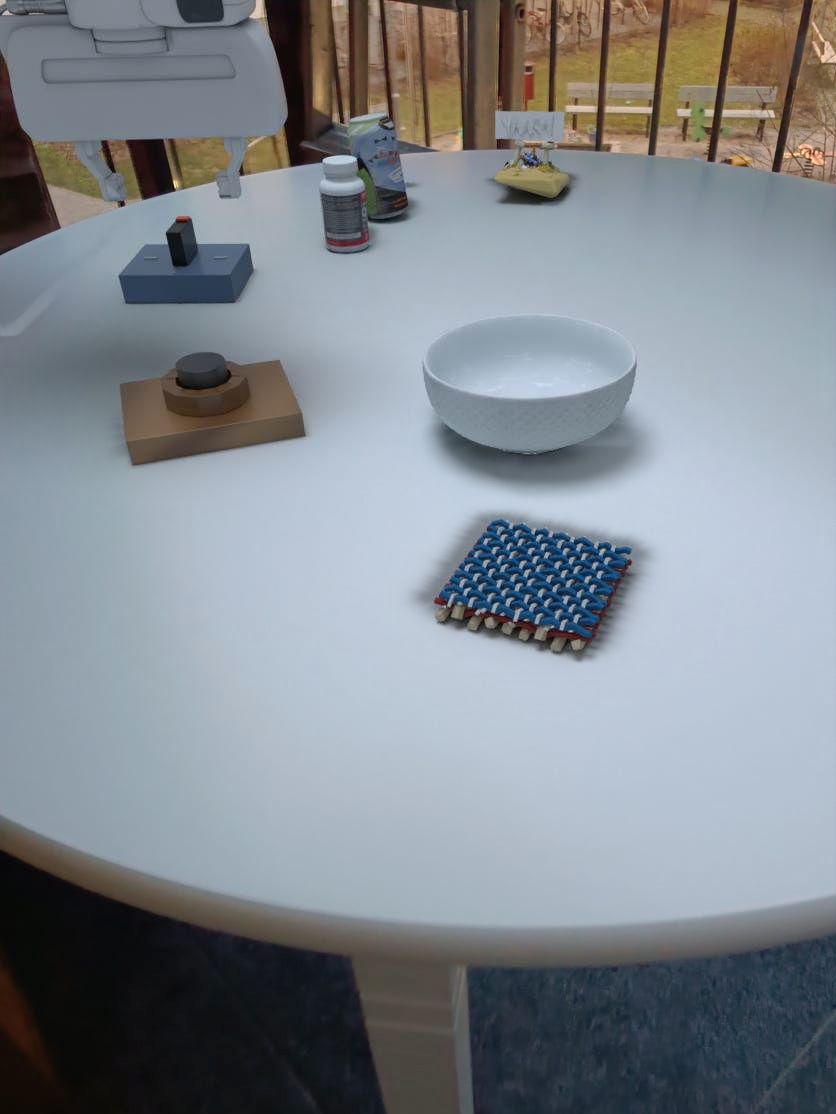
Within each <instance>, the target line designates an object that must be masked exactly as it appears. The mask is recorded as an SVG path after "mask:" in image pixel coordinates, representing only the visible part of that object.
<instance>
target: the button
mask: <svg viewBox="0 0 836 1114" xmlns="http://www.w3.org/2000/svg"><path fill="white" fill-rule="evenodd" d="M225 361H226V358H225V357H224V356H223V355H222V354H220V353H217V352H212V351H202V352H201V351H200V352H193V353H189V354H187V355H185V356H182V357H180V358H179V359H177V360H176V362H175V368H176V370H177V375H178V379H179V383H180V386H181V387H182V388H184V389H189V390H204V389H211V388H216V387H218V386H220V385H223V384H225V383H227V382H228V380H229V377H228V372H227V367H226V362H225Z"/></svg>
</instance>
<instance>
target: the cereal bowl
mask: <svg viewBox="0 0 836 1114" xmlns="http://www.w3.org/2000/svg"><path fill="white" fill-rule="evenodd" d="M637 362H638V357H637V351H636V349H635V347H634V346H633V344H632V343H631V341H629V339H627V337H625V336H624V335H623V334H621V333H620V332H618V331H617V330H615V329H613V328H611V327H608V326H606V325H604V324H601V323H597V322H595V321H592V320H588V319H585V318H581V317H580V318H579V317H574V316H568V315H562V314H552V313H511V314H502V315H494V316H488V317H484V318H479V319H475V320H472V321H471V320H470V321H467V322H464V323H461V324H459V325H456V326H453V327H451V328H449V329H447V330H446V331H443V332H442V333H441V334H439V335H437V336H436V337H435V338H433V339H432V340H431V341H430V342H429V343H428V344H427V346H426V348H425V350H424V351H423V355H422V361H421V365H422V373H423V381H424V387H425V391H426V395H427V397H428V400H429V403H430V405H431V407H432V408H433V411H434V412H435V414H436V415H437V416H438V417H439V419H441V420H442V422H443V423H444V424H445V425H447V426H448V427H449V428H450V429H451V430H453V431H454V432H455V433H456V434H458V435H460V436H461V437H462V438H466V439H467V440H469V441H472V442H474V443H477V444H480V445H482V446H487V447H490V448H494V449H497V448H498V449H497V450H499V449H501V450H500V451H502V450H505V451H504V452H506V451H508V452H507V453H510V452H514V453H513V454H516V453H522V454H521V455H525V454H524V453H529V454H528V455H535V454H534V453H542V454H544V453H543V452H547V451H552V452H554V451H553V450H555V451H557V450H556V449H558V450H560V449H559V448H561V447H563V448H565V447H570V446H573V445H576V444H580V443H581V442H585V441H586V440H588V439H590V438H593V437H594V436H596V435H598V434H599V433H601V432H602V431H604V430H607V428H608V427H609V426H610V425H612V424H613V423H614V421H616V420H617V419H618V417H619V416H620V415H621V414H622V413H623V411H624V409H626V407H627V403H628V402H629V401H630V397H631V395H632V393H633V388H634V385H635V379H636V373H637V366H638V363H637ZM561 449H562V448H561Z"/></svg>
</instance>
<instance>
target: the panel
mask: <svg viewBox="0 0 836 1114" xmlns="http://www.w3.org/2000/svg"><path fill="white" fill-rule="evenodd" d="M197 247H198V251H197V253H196V254H195V255H194V257H193V258H192V260H191V261H190V262H189V264H188V265H187V266H173V264H172V260H171V255H170V251H169V246H168V243H147V244H146V243H145V244H144V246H142V247H141V248H140V250H139V251H138V252H137V253H136V254H135V255H134V257H133V258H132V259H131V260H130V261H129V262H128V264H126V266H125V267H124V268H123V270H121V271H120V273H119V274H118V275H117V277H118V281H119V283H120V287H121V291H122V295H123V299H124V302H125V304H138V303H139V304H161V303H162V304H164V303H165V304H167V303H168V304H169V303H170V304H172V303H180V304H184V303H185V304H186V303H192V304H193V303H194V304H195V303H196V304H197V303H236V302H237V300H238V298H239V296H240V294H241V293H242V291H243V289H244V287H245V285H246V284H247V282H248V280H249V279H250V276H252V273H253V272H254V264H253V259H252V253H251V246H250V243H197Z"/></svg>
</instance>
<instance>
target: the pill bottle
mask: <svg viewBox="0 0 836 1114" xmlns="http://www.w3.org/2000/svg"><path fill="white" fill-rule="evenodd" d="M357 170H358V165H357V159H356V158H355V157H353V156H351V155H345V154H344V155H343V154H341V155H332V156H328V157H325V158H323V159H322V172H323V175H325V177H324V178H323V179H322V180H321V181H320V183H319V185H318V188H319V189H318V191H319V198H320V199H319V200H320V208H321V216H322V225H323V235H324V243H325V246H326V247H325V248H327V249H328V250H329V251H331V252H332V251H333V252H336V253H348V254H349V253H355V252H360V251H363V250H365V249H366V248H368V247H369V246H370V232H369V220H368V218H369V217H368V215H367V206H366V193H365V185H364V182H363V181H362V179H360V178H359V177H356V173H357V172H358V171H357Z"/></svg>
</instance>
